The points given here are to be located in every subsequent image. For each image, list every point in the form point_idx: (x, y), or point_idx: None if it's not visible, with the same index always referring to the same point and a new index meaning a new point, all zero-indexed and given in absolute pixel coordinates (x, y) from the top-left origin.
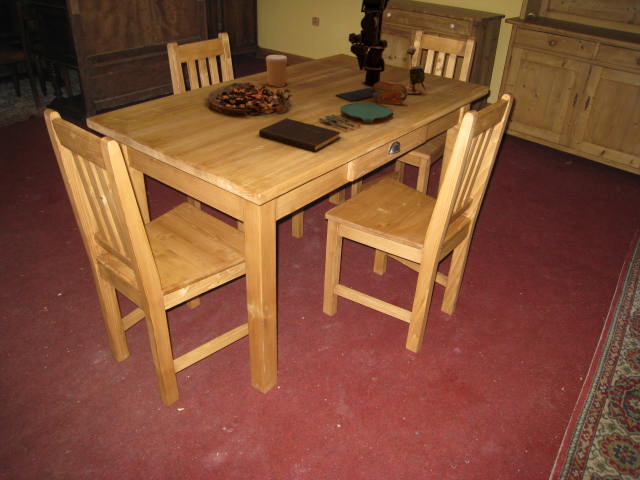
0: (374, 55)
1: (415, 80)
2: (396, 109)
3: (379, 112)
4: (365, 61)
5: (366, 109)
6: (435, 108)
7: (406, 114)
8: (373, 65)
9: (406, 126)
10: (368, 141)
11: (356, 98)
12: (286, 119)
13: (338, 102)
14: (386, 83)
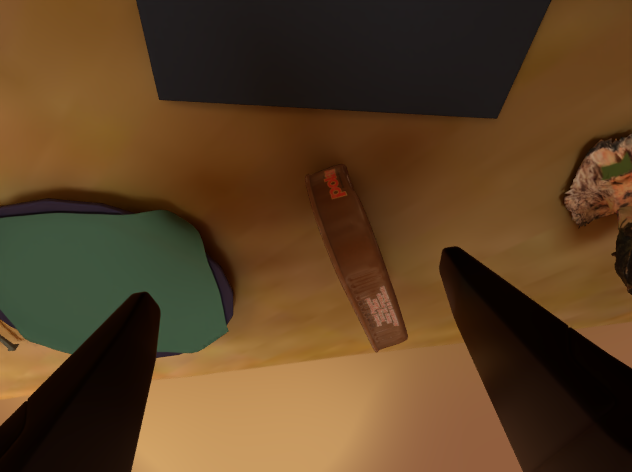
0: (534, 400)
1: (627, 270)
2: (298, 291)
3: (169, 315)
4: (130, 456)
5: (131, 277)
6: (421, 334)
7: (283, 329)
8: (443, 266)
9: (196, 373)
10: (8, 391)
11: (227, 81)
12: None
13: (41, 37)
14: (356, 296)
